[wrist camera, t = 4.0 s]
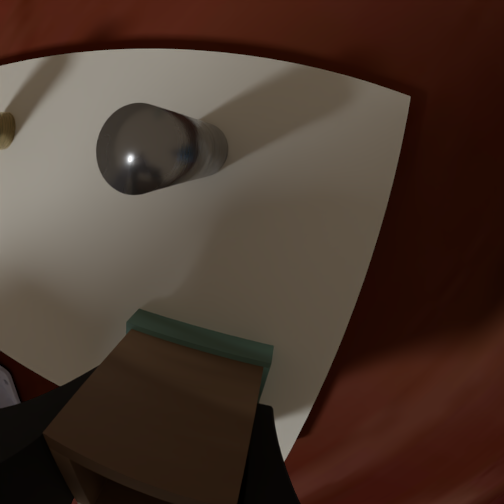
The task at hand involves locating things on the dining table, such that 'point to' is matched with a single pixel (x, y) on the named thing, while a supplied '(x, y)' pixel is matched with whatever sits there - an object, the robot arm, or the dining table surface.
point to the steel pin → (157, 149)
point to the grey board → (193, 212)
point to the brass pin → (6, 129)
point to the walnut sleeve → (162, 417)
